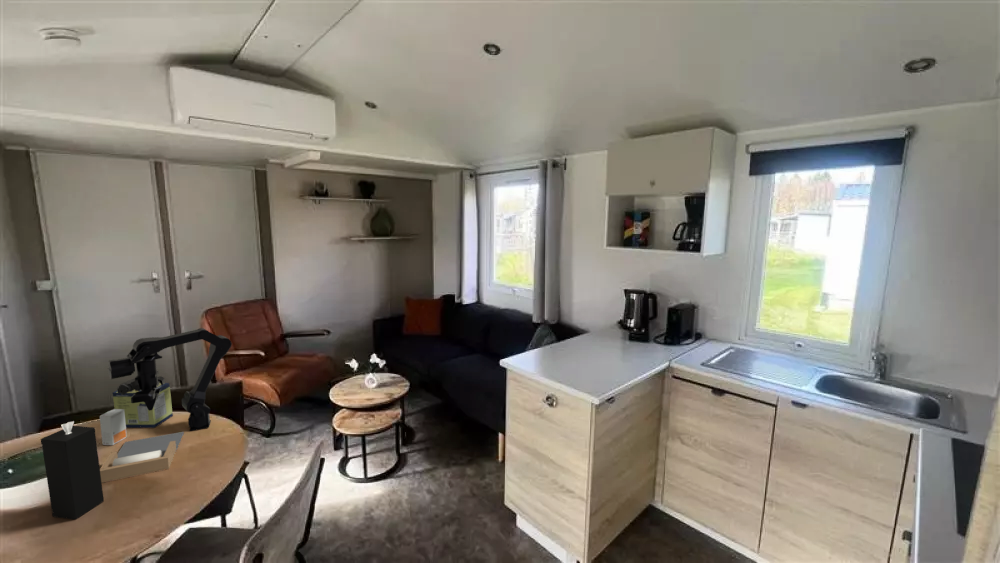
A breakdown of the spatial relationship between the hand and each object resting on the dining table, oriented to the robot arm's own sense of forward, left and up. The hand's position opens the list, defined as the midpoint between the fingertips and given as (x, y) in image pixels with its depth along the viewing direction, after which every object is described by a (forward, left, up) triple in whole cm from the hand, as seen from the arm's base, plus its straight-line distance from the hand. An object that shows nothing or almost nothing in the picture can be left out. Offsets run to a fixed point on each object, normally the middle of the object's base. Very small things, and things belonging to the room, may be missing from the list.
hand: (150, 409), depth 156 cm
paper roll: (0, +20, -10) cm, 22 cm away
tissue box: (+10, +37, -13) cm, 41 cm away
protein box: (+7, -20, -13) cm, 25 cm away
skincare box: (+13, -6, -13) cm, 19 cm away
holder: (0, +11, -13) cm, 17 cm away
